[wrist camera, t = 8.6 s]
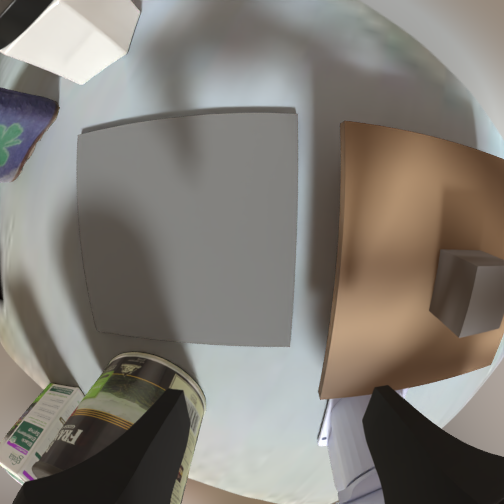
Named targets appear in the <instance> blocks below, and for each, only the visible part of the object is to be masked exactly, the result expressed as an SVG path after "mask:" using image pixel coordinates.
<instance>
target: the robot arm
mask: <svg viewBox="0 0 504 504" xmlns="http://www.w3.org/2000/svg"><path fill="white" fill-rule="evenodd" d="M408 389H409V388H406V389H401V390H393V389H392V388H391V387H390V386H389V385H385V386H379V387H374V390H373V393H372V394H370V395H363V396H355V397H346V398H335V399H329V402H328V406H327V410H326V413H325V417H324V421H323V424H322V428H321V432H320V435H319V438H318V445H319V446H327V447H328V452H329V457H330V463H331V468H332V473H333V479H334V484H335V487H336V489H337V491H338V498H339V502H338V503H336V504H504V457H502V456H498V455H495V454H491V453H488V452H485V451H482V450H480V449H477V448H475V447H473V446H470V445H468V444H466V443H464V442H462V441H460V440H459V439H457V438H455V437H453V436H452V435H450V434H448V433H447V432H445V431H444V430H442V429H441V428H439V427H438V426H437V425H435V424H434V423H433V422H431V421H430V420H429V419H427V418H426V417H425V416H424V415H422V414H421V413H420V412H419V411H418V410H416V409H415V408H414V407H413V406H412V405H411V404H409V403H408V402H407V401H406V400H405V399H404V398H405V396H406V393H407V391H408ZM190 425H191V422H190V418H189V413H188V409H187V404H186V400H185V395H184V390H178V389H170V388H168V389H166V390H165V391H164V393H163V394H162V395H161V396H160V397H159V398H158V399H157V400H156V402H155V403H154V404H153V405H152V406H151V407H150V408H149V409H148V410H147V411H146V412H145V413H144V414H143V415H142V416H141V417H140V418H139V419H138V420H137V421H136V422H135V423H134V424H133V425H132V426H131V427H130V428H129V429H128V430H126V431H125V432H124V433H123V434H122V435H121V436H120V437H118V438H117V439H116V440H115V441H113V442H112V443H111V444H109V445H108V446H107V447H105V448H104V449H102V450H101V451H99V452H98V453H96V454H95V455H93V456H91V457H90V458H88V459H86V460H84V461H83V462H81V463H79V464H77V465H75V466H73V467H70V468H68V469H66V470H63V471H61V472H58V473H56V474H53V475H50V476H46V477H43V478H39V479H35V480H31V481H26V482H25V483H24V484H23V486H22V487H21V489H20V491H19V492H18V494H17V496H16V498H15V499H14V501H13V504H170V502H171V496H172V492H173V488H174V485H175V482H176V479H177V476H178V472H179V469H180V466H181V463H182V460H183V457H184V453H185V450H186V447H187V443H188V437H189V431H190Z"/></svg>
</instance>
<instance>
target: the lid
mask: <svg viewBox="0 0 504 504" xmlns="http://www.w3.org/2000/svg"><path fill="white" fill-rule="evenodd" d="M340 143H341V181H340V214H339V233H338V248H337V260H336V272H335V282H334V292H333V300H332V309H331V316H330V324H329V331H328V338H327V344H326V351H325V357H324V363H323V368H322V374H321V379H320V385H319V390H318V393H319V397H320V400H322V399H335V398H346V397H355V396H363V395H370V394H372V393H373V390H374V387H379V386H385V385H389V386H390V387H391V388H392V389H393V390H401V389H406V388H411V387H415V386H420V385H424V384H429V383H433V382H437V381H440V380H444V379H448V378H452V377H455V376H458V375H462V374H465V373H468V372H471V371H474V370H477V369H480V368H483V367H486V366H489V365H491V363H492V361H493V359H494V356H495V354H496V352H497V349H498V347H499V344H500V342H501V339H502V336H503V333H504V159H502V158H499V157H497V156H494V155H491V154H488V153H486V152H483V151H480V150H477V149H474V148H471V147H468V146H464V145H461V144H458V143H454V142H451V141H447V140H444V139H440V138H436V137H432V136H428V135H424V134H420V133H415V132H411V131H406V130H401V129H396V128H390V127H385V126H379V125H373V124H366V123H359V122H351V121H344V122H342V123H341V124H340Z"/></svg>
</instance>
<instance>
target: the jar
mask: <svg viewBox="0 0 504 504" xmlns="http://www.w3.org/2000/svg"><path fill="white" fill-rule="evenodd" d="M139 16H140V11H139V9H138V8H137V7H136V6H135V5H134V3H133V2H132V1H131V0H0V52H1V53H2V54H4V55H6V56H9V57H12V58H15V59H18V60H21V61H23V62H26V63H29V64H31V65H34V66H37V67H39V68H42V69H44V70H47V71H49V72H52V73H54V74H57V75H59V76H61V77H64V78H66V79H68V80H71V81H73V82H75V83H77V84H80V85H83V84H85V83H86V82H87V81H89V80H90V79H91V78H93V77H94V76H95V75H97V74H98V73H99V72H101V71H102V70H104V69H105V68H107V67H108V66H109V65H111V64H112V63H114V62H115V61H117V60H118V59H120V58H121V57H123V56H125V55H126V54H127V52H128V49H129V45H130V42H131V39H132V36H133V33H134V30H135V27H136V24H137V21H138V18H139Z"/></svg>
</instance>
